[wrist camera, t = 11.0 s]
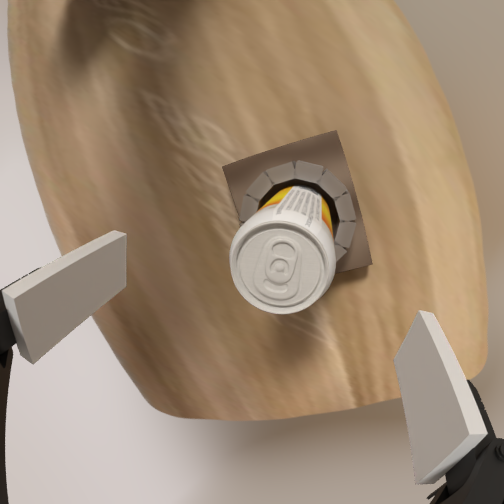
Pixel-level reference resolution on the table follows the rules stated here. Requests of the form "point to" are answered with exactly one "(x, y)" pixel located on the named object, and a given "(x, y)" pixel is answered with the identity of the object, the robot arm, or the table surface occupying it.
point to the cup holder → (309, 174)
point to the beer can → (285, 252)
